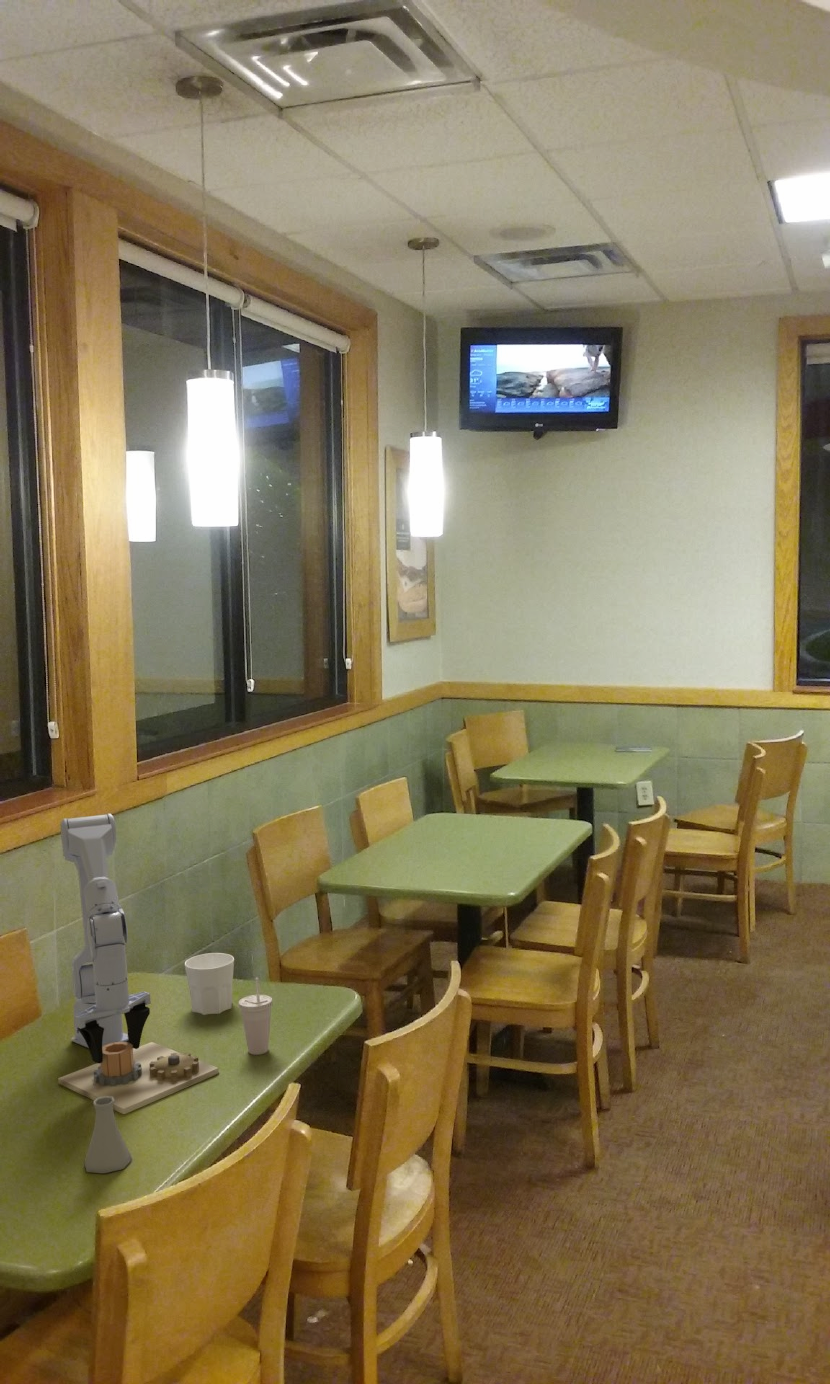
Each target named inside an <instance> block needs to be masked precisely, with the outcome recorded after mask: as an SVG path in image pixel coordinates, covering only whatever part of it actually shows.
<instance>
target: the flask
mask: <svg viewBox="0 0 830 1384" xmlns="http://www.w3.org/2000/svg"><path fill="white" fill-rule="evenodd" d="M114 1102H115V1101H114V1098H113V1097H109V1096H105V1097H100V1098H97V1099H96V1100H92V1104H93V1107H94V1109H95V1118H94V1127H93V1130H92V1134H91V1139H90V1141H89V1142H90V1143H89V1145H88V1149H87V1152H86V1155H85V1159H84V1162H83V1164H84V1165H83V1166H84V1168H85V1171H86V1173H94V1174H96V1173H97V1174H107V1173H111V1172H116V1171H121V1170H124V1169H125V1168H126V1167H127V1166H128V1165H129V1164H130V1163H131V1161H132V1160H133V1159H132V1156H131V1153H130V1150H129V1148H128V1146H127V1144H126V1141H125V1140H124V1138H123V1136H122V1133H121V1131H120V1129H119V1127H118V1124H117V1121H116V1118H115V1113H114V1110H113V1104H114Z"/></svg>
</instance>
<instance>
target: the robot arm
mask: <svg viewBox="0 0 830 1384" xmlns="http://www.w3.org/2000/svg"><path fill="white" fill-rule="evenodd" d="M114 817H115V816H114V815H112V814H111V813H110V812H109V813H107V814H99V815H90V816H89V815H88V816H81V817H73V818H71V817H70V818H66V817H65V818H62V820H61V821H60V837H61V838H60V839H61V846H62V855H63V857H64V860H65V861H68V862H71V863H74V866H75V868H76V870H77V875H78V885H79V886H78V887H79V893H80V895H79V896H80V903H81V904H80V905H81V915H82V926H83V937H84V939H83V940H84V947H83V948H82V949H81V950H80V951H78V953H77V954H75V956H74V957H73V959H72V961H71V967H72V969H71V976H72V977H71V979H72V990H73V995H74V997H75V998H76V999H75V1001H74V1004H73V1008H72V1011H73V1012H72V1013H73V1027H74V1036H73V1037H71V1041H72V1042H74V1043H76V1044H78V1045H81V1046H83V1047H85V1048H87V1049H88V1050H89V1054H90V1055H91V1059H92V1062H94V1063H95V1064H96V1063H102V1062H103V1051H102V1047H103V1046H105V1045H107V1044H110V1043H114V1042H128V1043H130V1044H132V1045H133V1049H138V1048H139V1047H140V1046H141V1045H140V1043H141V1038H142V1035H143V1030H144V1028H145V1025H146V1022H147V1020H148V1017H149V1016H150V1014H151V1011H150V1007H149V1006H148V1005H150V1004H151V993H150V992H147V991H140V992H136V993H132V994H129V993H130V992H129V981H128V969H127V967H128V965H127V954H126V953H127V952H126V944H128V937H129V933H128V932H129V930H128V922H127V917H126V914H125V912H124V910H123V906H122V905H121V904H120V899H119V895H118V889H117V885H116V883H115V882H114V881H113V880H112V879H111V878H108V877H109V876H108V865H107V864H108V863H107V862H108V861H107V858H108V857H109V856H112V855H113V852H114V851H115V847H116V846H115V845H116V843H117V842H116V841H117V829H116V821H115V818H114ZM87 963H89V964H87ZM123 1014H124V1019H125V1023H126V1029H127V1033H125V1032H124V1029H123V1028H124V1027H123Z"/></svg>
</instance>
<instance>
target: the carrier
mask: <svg viewBox="0 0 830 1384" xmlns="http://www.w3.org/2000/svg"><path fill="white" fill-rule="evenodd" d="M133 1059H134V1061H135V1063H136V1064H137V1063H140V1064H141V1067H142V1075H141V1076H138V1079H137V1080H136V1081H130V1082H128V1083H129V1084H125V1085H123V1084H119V1085H116V1086H111V1085H105V1086H101V1085H100V1083H95V1082H94V1070H98V1067H99V1066H101V1064H100V1063H96V1062H95V1063H93V1064H92V1065H89V1066H86V1067H83V1068H82V1069H79V1070H76V1071H74V1072H70V1073H68V1074H65V1075H63V1076H61V1077H58V1079H57V1080H58V1085H61V1086H63V1087H65V1088H68V1089H69V1090H71V1091H74V1092H75V1093H77V1094H79V1095H81V1096H84V1097H86V1098H88V1099H90V1100H92V1101H94V1100H96V1099H97V1098H100V1097H105V1096H109V1097H113V1098H114V1101H115V1102H114V1104H113V1111H116V1112H118V1113H120V1114H121V1115H126V1114H129V1113H131V1112H133V1111H137V1110H138V1109H140V1108H142V1107H145V1106H147V1105H149V1104H152V1103H154V1102H157V1101H158V1100H161V1099H163V1098H166V1097H167V1096H170V1095H172V1094H175V1093H176V1092H180V1091H181V1090H184V1089H185V1088H186V1089H187V1088H189V1087H190V1086H192V1085H193V1086H194V1085H196V1084H197V1083H198V1084H199V1083H200V1082H202V1081H204V1080H206V1079H209V1078H211V1077H213V1076H217V1075H219V1073H220V1072H219V1067H217V1066H214V1065H212V1064H209V1063H206V1062H204V1061H201V1060H199V1057H198V1056H197V1055H195V1056H194V1055H193V1056H191V1053H188V1052H185V1053H184V1054H183V1053H181V1052H179V1051H176V1050H173V1049H171V1048H168V1047H166V1046H164V1045H162V1044H158V1043H155V1042H153V1041H150V1042H148V1043H145V1044H143V1045H139V1048H138V1049H135V1048H133Z"/></svg>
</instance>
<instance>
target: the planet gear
mask: <svg viewBox="0 0 830 1384" xmlns="http://www.w3.org/2000/svg"><path fill="white" fill-rule="evenodd" d="M133 1049H134V1048H133V1045H132V1044H130V1043H129V1042H128V1041H126V1042H114V1043H110V1044H107V1045H105V1046H103V1047H102V1051H103V1062H102V1063H100V1064H101V1066H99V1067H98V1070H94V1082H95V1083H100V1085H101V1086H105V1085H111V1086H116V1085H119V1084H123V1085H125V1084H129V1083H128V1082H130V1081H136V1080H137V1079H138V1076H141V1075H142V1067H141V1064H140V1063H137V1064H136V1063H135V1061H134V1059H133Z"/></svg>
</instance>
